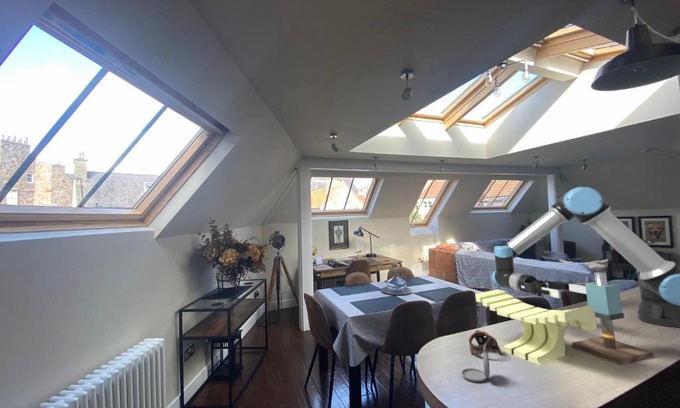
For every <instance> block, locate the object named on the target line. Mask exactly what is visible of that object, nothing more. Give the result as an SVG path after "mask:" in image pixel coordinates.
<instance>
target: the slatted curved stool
mask: <svg viewBox="0 0 680 408" xmlns="http://www.w3.org/2000/svg"><path fill="white" fill-rule="evenodd" d="M475 302H476V303H482V306H483V307H489V311H493V312H496V314H497V315H498V316H501V317H505V318H510V319H514V320H517V321H519V322H520V323H521V326H522V328H523V333H522V335H521V336H520V337H519V338H518V339H516V340H514V341H512V342H509V343H508V344H505V345H502V348H501V349H500V350H501V352H503V353H506V352H507V353H506V354H509V355H513V356H515V357H518V358H520V359H522V360H528V362H530V363H533V364H536V365H538V366H543V365H546V364H548V363H551V362H552V361H556V360H558V359H560V358H562V357H565V355H566V345H565V334H566V330H567V326H570V327H576V328H578V327H581V329H582V330H585V331H587V332H591V331H594V330H597V328H598V326H597V319H596V318H597V317H595V313H594V310H593V308H592V307H591V306H589V305H588V304H587V305H584V306H582V307H577V308H573V309H565V310H559V309H558V310H555V309H547V308H542V307H538V306H537V307H536V306H535V305H532V304H528V303H525V302H523V301H522V300H520V299H518V298H515V297H514V296H513V295H510V294H509V293H507V291H504V290H502V289H493V290H487V291H482V292H478V293H475ZM555 359H556V360H555ZM550 361H551V362H550Z"/></svg>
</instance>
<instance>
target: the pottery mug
mask: <svg viewBox="0 0 680 408" xmlns="http://www.w3.org/2000/svg"><path fill="white" fill-rule="evenodd" d="M473 339H475V341H476V343H477V345H476V344H473ZM468 342H469V351H470V353H471V355H473V354H476V355H478V354H479V355H483V353H484V350H483V348H484V346H485V343H486V347H485V348H486V352H488V353H489V352H490V353H493V351H496V352H498V353H499V355H500V356H502V351H501V350H502V349H501V348H500V346H499V344H498V342H497V339H496V338H495V337H493V336H492V335H490V334H489V333H488V332H486V331H481V330H479V329H477V330H475V331H474V332H473V333H472V334H471V335H469V337H468ZM492 350H493V351H492Z"/></svg>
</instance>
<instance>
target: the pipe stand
mask: <svg viewBox="0 0 680 408" xmlns="http://www.w3.org/2000/svg"><path fill="white" fill-rule="evenodd" d="M593 275H594V282H595V284H596V285H601V286H606V285H607V283H608V279H607V273H606V272H598V271H597V272H593ZM599 319H600V327H601V336H597V337H593V338H592V337H591V338H587V339H582V340H578V341H572V342H571V345H572V348H575V349H577V350H580V351H583V352H586V353H588V354H591V355H593V356H597V357H599V358H602V359H604V360H607V361H610V362H613V363H615V364H618V365H624V364H629V363H633V362H637V361H642V360H645V359H650V358H653V357H654V354H653V351H651V350H647V349H644V348H640V347H637V346H634V345H630V344H628V343H624V342H623V341H622V342H621V341H617V340H616V335H615V330H614V323H613V321H614V320H606V319H602V318H599Z"/></svg>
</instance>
